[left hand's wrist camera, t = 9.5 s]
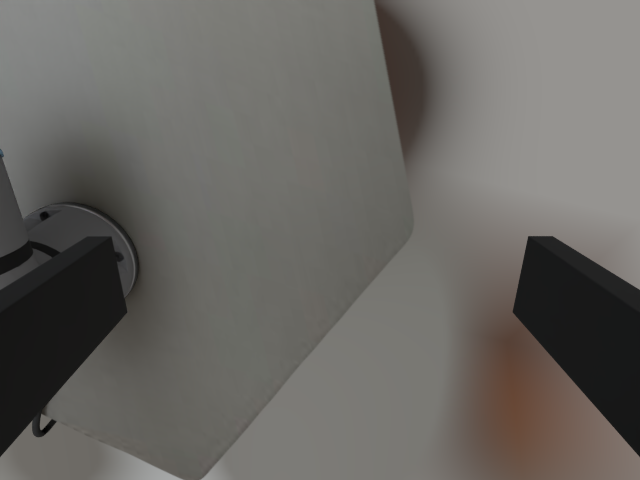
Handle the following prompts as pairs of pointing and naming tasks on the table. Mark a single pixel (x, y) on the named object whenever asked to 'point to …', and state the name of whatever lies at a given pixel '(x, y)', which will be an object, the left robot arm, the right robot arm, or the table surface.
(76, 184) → the table surface
